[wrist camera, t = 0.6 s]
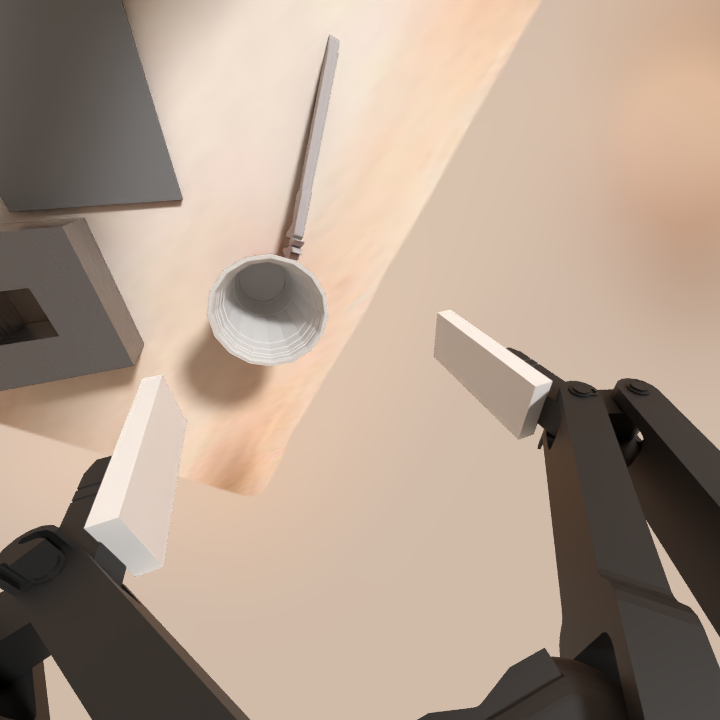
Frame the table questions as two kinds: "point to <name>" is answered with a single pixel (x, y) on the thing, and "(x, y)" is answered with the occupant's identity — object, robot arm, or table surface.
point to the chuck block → (60, 306)
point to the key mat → (76, 109)
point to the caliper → (312, 152)
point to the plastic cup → (267, 310)
